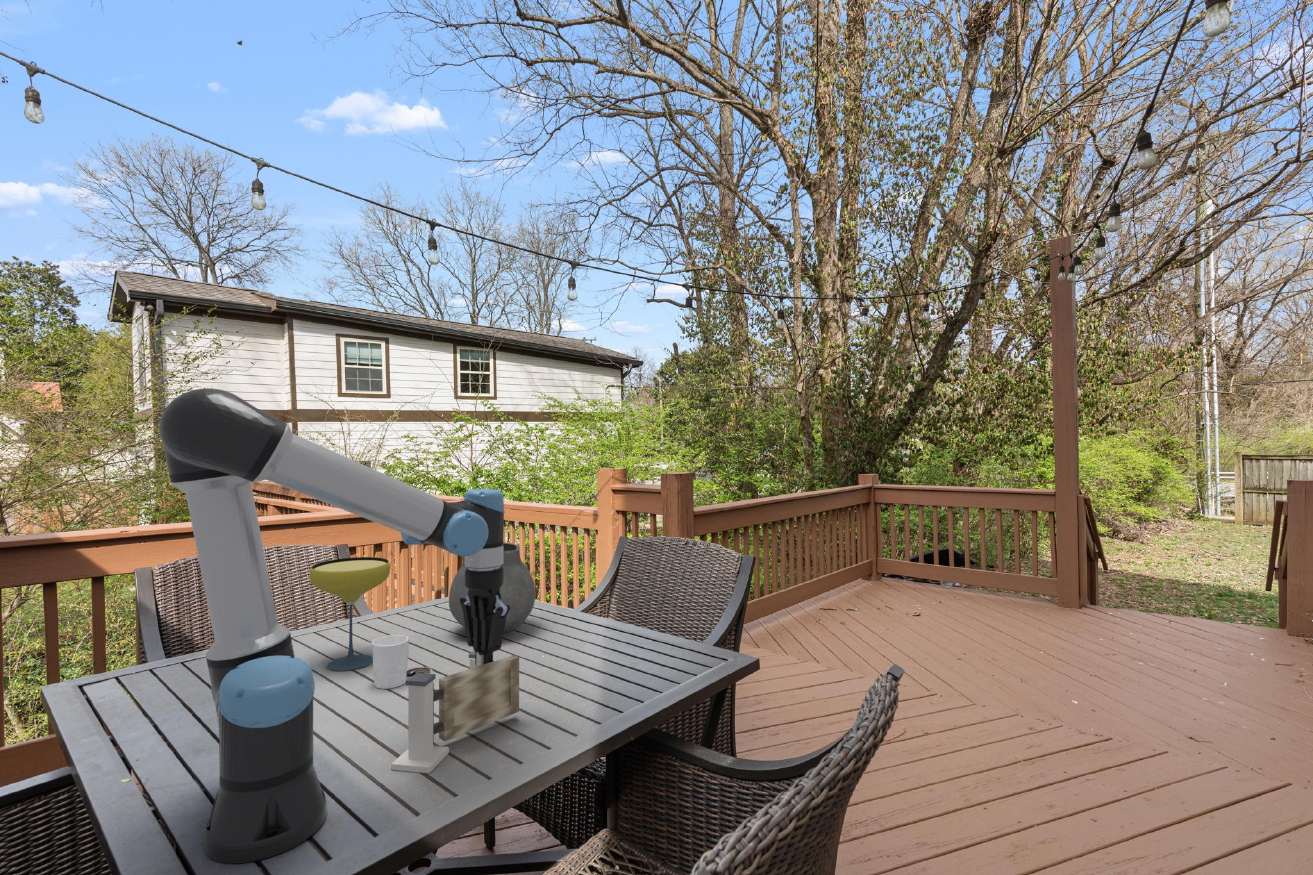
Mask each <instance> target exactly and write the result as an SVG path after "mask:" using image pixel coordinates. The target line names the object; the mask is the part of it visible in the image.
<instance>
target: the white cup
mask: <svg viewBox="0 0 1313 875" xmlns="http://www.w3.org/2000/svg"><path fill="white" fill-rule="evenodd" d="M409 639H410V638H409V636H407V635H402V634H391V635H385V636H379V637H377V638H375V639H373V640H372V641H371V652H372V655H371V656H372V659H373V663H372V667H373V668H372V671H373V685H374V687H375V688H376V689H380V690H381V689H383V690H389V689H395V688H398V687H401V686H403V685H404V684H406V680H407V674H408V672H407V671H408V664H409V662H408V661H409Z"/></svg>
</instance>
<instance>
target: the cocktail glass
mask: <svg viewBox="0 0 1313 875" xmlns="http://www.w3.org/2000/svg"><path fill="white" fill-rule="evenodd" d="M390 572H391V565H390V560H389V559H387V558H383V557H377V556H376V557H375V556H373V557H371V556H362V557H361V556H360V557H359V556H358V557H343V558H336V559H331V560H325V561H322V562H321V561H320V562H317V563H315V564H312V566H311V567H310V570H309V580H310V583H311V584H312V585H313V586H314V587H315V588H317V589H318V590H321V591H323V592H325V593H328V594H331V595H333V596H336V597H339V598H341V600H343V602H344V603H346V605H348V606H349V607H348V608H349V624H348V625H349V630H348V631H349V632H348V633H349V635H348V650H347V651H348V652H347V655H345V656H340V657H337V658H335V659H333V660H331V661H329V662H327V664H326V669H328V670H329V669H330V670H329V671H332V670H333V671H332V672H348V671H349V672H350V671H355V670H361V669H364V668H365V667H368V666H370V665H373V659H372V655H371V654H370V655H368V654H355V653H354V647H353V646H354V645H353V643H354V642H353V605H355V603H357V601H358V600H359V599H360V597H361V596H363V595H364V594H365V593H367V592H369V591H371V590H372V589H375V588H376V587H378V586H379V585H381V584H383V583H384V582H385V580H387V579H388V577H389V576H390Z"/></svg>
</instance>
